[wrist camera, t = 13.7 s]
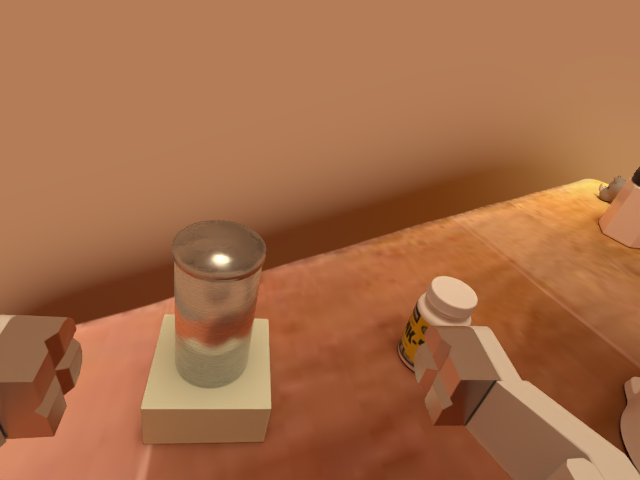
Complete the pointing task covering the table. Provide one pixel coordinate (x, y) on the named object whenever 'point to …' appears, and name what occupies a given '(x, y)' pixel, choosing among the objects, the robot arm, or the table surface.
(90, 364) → the table surface
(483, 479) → the table surface
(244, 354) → the clear glass canister
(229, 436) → the block
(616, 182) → the round bodied animal figurine
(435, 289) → the supplement bottle
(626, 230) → the jar
